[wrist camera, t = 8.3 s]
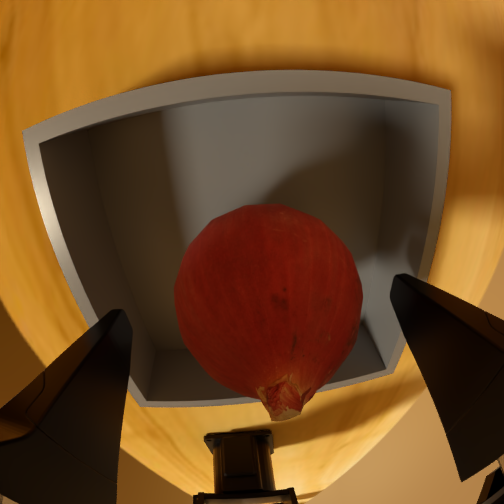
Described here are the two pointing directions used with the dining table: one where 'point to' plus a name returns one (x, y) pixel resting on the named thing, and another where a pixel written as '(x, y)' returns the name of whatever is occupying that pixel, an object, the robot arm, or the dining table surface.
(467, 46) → the dining table surface
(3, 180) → the dining table surface
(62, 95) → the dining table surface
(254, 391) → the onion
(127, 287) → the bin
